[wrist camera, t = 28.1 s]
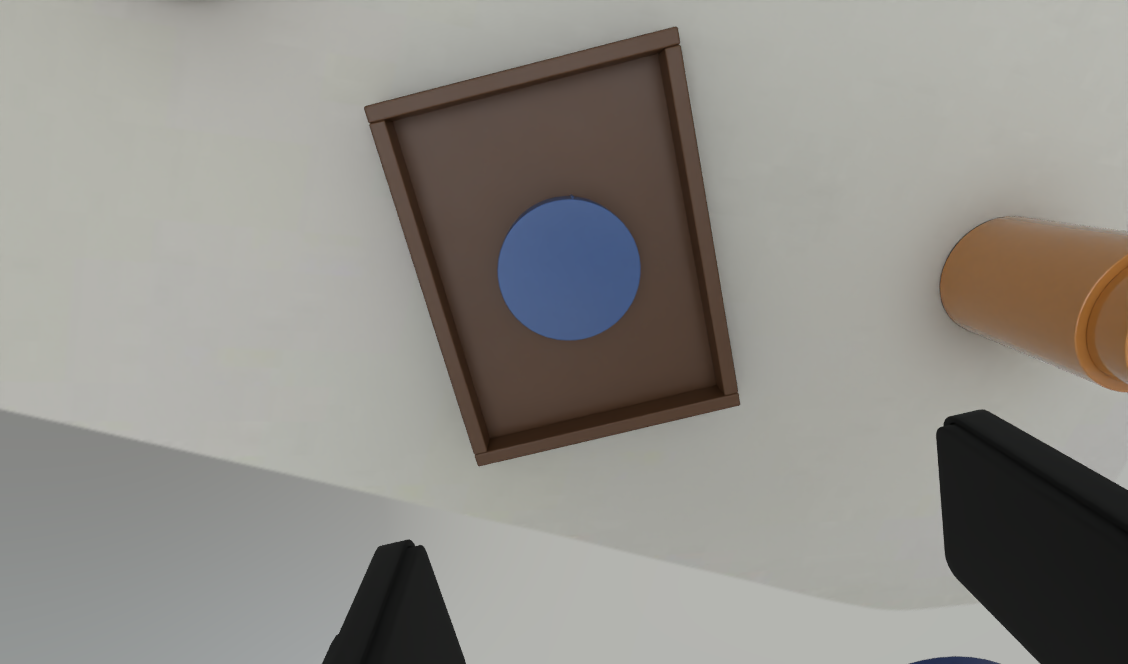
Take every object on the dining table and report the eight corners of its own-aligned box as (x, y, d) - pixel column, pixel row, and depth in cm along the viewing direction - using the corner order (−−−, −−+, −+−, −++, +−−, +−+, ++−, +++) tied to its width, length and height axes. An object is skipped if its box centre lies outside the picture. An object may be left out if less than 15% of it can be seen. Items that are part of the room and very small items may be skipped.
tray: (728, 390, 31) (740, 405, 29) (481, 448, 32) (478, 467, 30) (667, 34, 26) (677, 25, 24) (375, 109, 27) (362, 106, 25)
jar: (1057, 318, 31) (1276, 388, 22) (942, 345, 31) (1111, 426, 22) (1058, 203, 29) (1296, 226, 20) (936, 232, 29) (1116, 269, 20)
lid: (501, 190, 28) (498, 193, 26) (640, 197, 28) (647, 200, 26) (498, 326, 29) (496, 338, 28) (628, 331, 30) (634, 343, 28)
